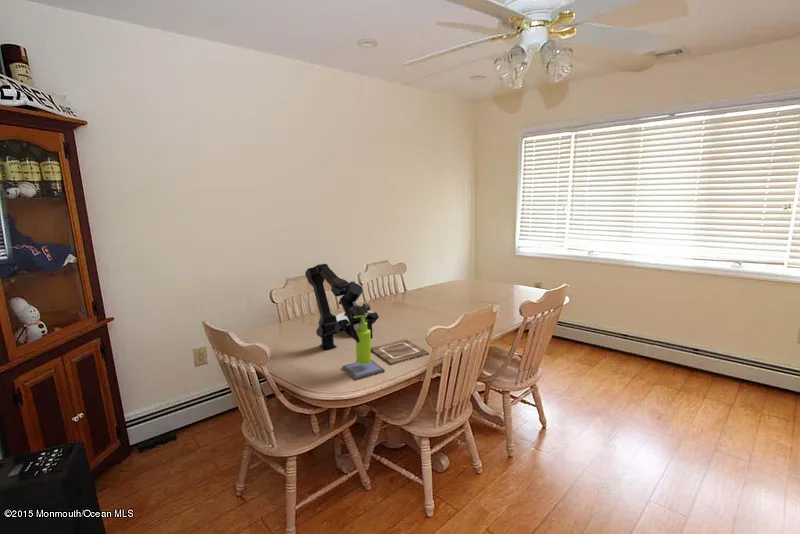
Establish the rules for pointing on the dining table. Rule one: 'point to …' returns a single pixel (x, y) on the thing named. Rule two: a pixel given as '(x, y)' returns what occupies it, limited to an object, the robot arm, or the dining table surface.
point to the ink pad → (363, 369)
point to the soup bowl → (342, 317)
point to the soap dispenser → (363, 341)
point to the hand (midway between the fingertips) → (365, 340)
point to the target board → (398, 351)
